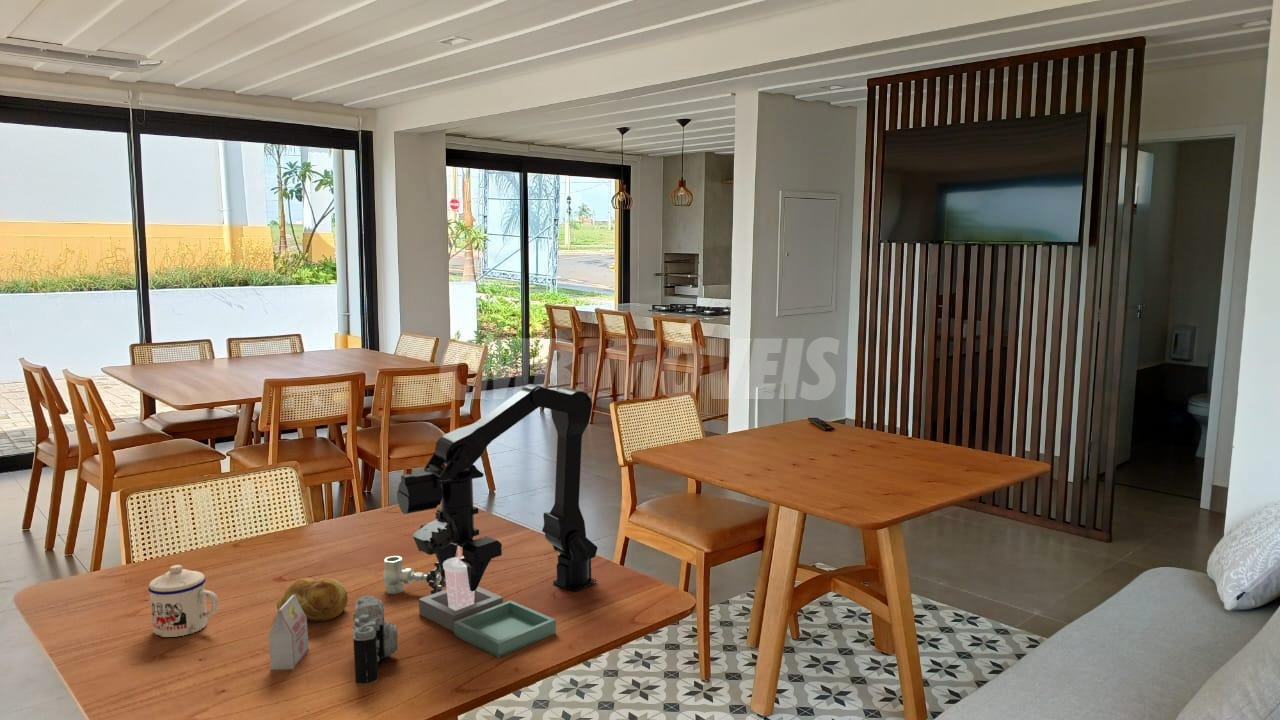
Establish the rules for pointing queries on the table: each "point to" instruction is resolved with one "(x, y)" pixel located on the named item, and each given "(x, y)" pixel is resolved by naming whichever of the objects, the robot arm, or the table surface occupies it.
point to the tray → (504, 628)
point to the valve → (409, 576)
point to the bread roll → (317, 598)
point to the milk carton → (288, 636)
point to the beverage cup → (457, 583)
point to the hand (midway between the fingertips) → (460, 585)
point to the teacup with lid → (180, 602)
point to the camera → (371, 638)
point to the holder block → (442, 614)
